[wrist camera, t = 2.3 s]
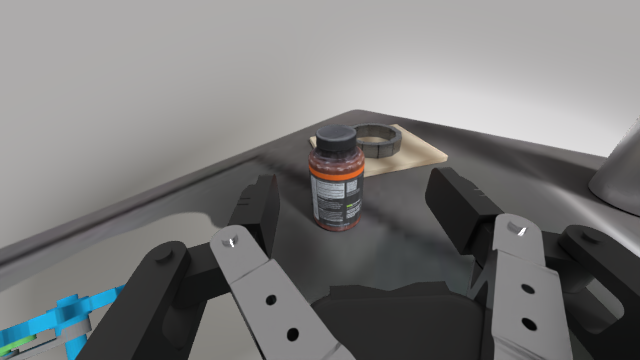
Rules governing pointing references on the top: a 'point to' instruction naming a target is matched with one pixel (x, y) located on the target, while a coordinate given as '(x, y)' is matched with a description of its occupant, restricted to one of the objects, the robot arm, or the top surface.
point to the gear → (56, 326)
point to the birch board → (400, 154)
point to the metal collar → (379, 148)
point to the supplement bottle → (336, 178)
